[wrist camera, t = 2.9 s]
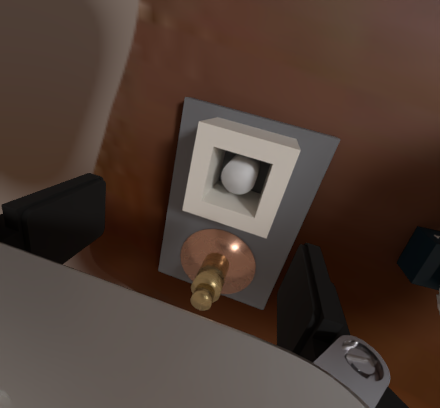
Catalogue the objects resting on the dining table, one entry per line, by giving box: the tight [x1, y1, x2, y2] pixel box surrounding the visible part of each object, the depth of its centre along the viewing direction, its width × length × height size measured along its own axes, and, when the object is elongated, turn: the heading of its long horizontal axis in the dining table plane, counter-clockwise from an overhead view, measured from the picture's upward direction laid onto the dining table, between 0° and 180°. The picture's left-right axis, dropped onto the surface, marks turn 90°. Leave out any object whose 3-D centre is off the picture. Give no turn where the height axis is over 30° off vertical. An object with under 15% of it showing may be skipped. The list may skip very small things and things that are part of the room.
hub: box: [180, 229, 256, 311], centre depth 25 cm, size 9×9×6 cm
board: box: [158, 97, 340, 310], centre depth 24 cm, size 21×14×6 cm, turn 167°
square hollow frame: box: [182, 117, 301, 238], centre depth 20 cm, size 7×7×6 cm
